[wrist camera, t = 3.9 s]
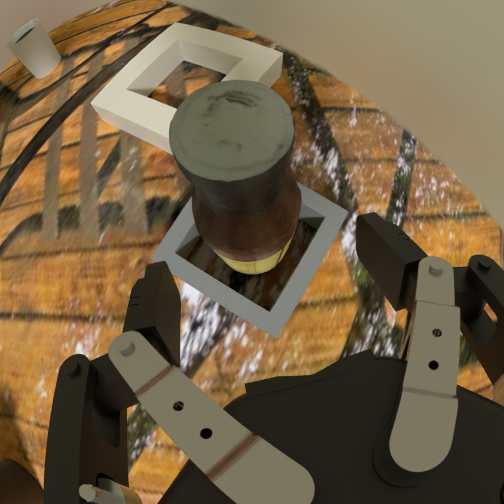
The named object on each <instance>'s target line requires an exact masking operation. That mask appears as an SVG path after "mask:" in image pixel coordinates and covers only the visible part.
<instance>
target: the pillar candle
mask: <svg viewBox="0 0 504 504" xmlns="http://www.w3.org/2000/svg"><path fill="white" fill-rule="evenodd" d="M0 504H44V492H43V490H42V489H41V487H40V485H39V484H38V483H37V482H36V480H35V479H34V478H33V477H32V476H31V475H30V474H29V473H28V471H27V470H26V469H25V468H24V467H22V466H21V465H20V464H18V463H16V462H15V461H12V460H9V459H7V460H4V461H2V462H0Z"/></svg>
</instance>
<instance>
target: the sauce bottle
mask: <svg viewBox="0 0 504 504" xmlns="http://www.w3.org/2000/svg"><path fill="white" fill-rule="evenodd" d="M294 140H295V120H294V118H293V115H292V112H291V109H290V107H289V106H288V104H287V103H286V101H285V100H284V99H283V98H282V97H281V96H280V95H279V94H278V93H277V92H276V91H274V90H273V89H271V88H269V87H267V86H265V85H263V84H261V83H257V82H255V81H248V80H228V81H222V82H218V83H213V84H208V85H207V86H205V87H203V88H200V89H197V90H196V91H194V92H193V93H192V94H190V95H189V96H188V97H187V98H186V99H185V100H184V101H183V102H182V103H181V104H180V105H179V107H178V109H177V111H176V112H175V114H174V117H173V119H172V120H171V122H170V128H169V142H170V148H171V151H172V153H173V155H174V158H175V160H176V162H177V164H178V166H179V168H180V170H181V171H182V173H183V174H184V175H185V177H186V178H187V179H188V180H189V181H190V182H191V183H193V184H194V185H195V187H194V190H193V194H192V213H193V217H194V221H195V225H196V228H197V231H198V233H199V235H200V236H201V237H202V238H203V239H204V240H205V242H206V243H207V244H208V246H209V247H210V248H211V249H212V250H213V251H214V252H216V253H217V254H218V255H219V256H220V257H221V258H222V259H223V260H224V261H225V262H226V263H227V264H228V265H229V266H230V267H231V268H233V269H234V270H235V271H238V272H241V273H245V274H253V275H255V274H260V273H264V272H266V271H269V270H271V269H272V268H274V267H275V266H276V265H277V264H278V263H279V262H280V261H281V260H282V258H283V256H284V255H285V253H286V251H287V249H288V246H289V244H290V242H291V240H292V237H293V235H294V233H295V230H296V227H297V224H298V220H299V215H300V211H301V204H302V198H301V190H300V188H299V187H298V184H297V180H296V178H295V176H294V174H293V173H292V170H291V167H290V163H289V159H290V156H291V154H292V151H293V145H294Z"/></svg>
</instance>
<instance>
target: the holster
mask: <svg viewBox="0 0 504 504" xmlns="http://www.w3.org/2000/svg"><path fill="white" fill-rule="evenodd" d="M297 184H298V187H299V188H300V190H301V198H302V204H301V211H300V215H299V219H300V220H302V221H303V222H305V223H307V224H308V225H310V226H312V227H313V228H315V229H316V231H315V233H314V234H313V236H312V238H311V240H310V241H309V243H308V245H307V247H306V248H305V250H304V252H303V254H302V255H301V257H300V259H299V260H298V262H297V264H296V266H295V267H294V269H293V271H292V272H291V274H290V276H289V278H288V279H287V281H286V283H285V284H284V286H283V288H282V289H281V291H280V293H279V294H278V296H277V298H276V299H275V301H274V303H273V304H272V306H271V308H270V309H269V311H267V310H265V309H264V308H262V307H260V306H259V305H257V304H255V303H254V302H252V301H250V300H249V299H247V298H245V297H244V296H242V295H240V294H239V293H237V292H236V291H234V290H232V289H231V288H229V287H228V286H226V285H224V284H223V283H221V282H219V281H218V280H216V279H215V278H213V277H212V276H210V275H208V274H207V273H205V272H204V271H202V270H200V269H199V268H197V267H196V266H194V265H193V264H191V263H189V262H188V261H186V259H187V258H188V256H189V254H190V253H191V251H192V250H193V248H194V247H195V245H196V243H197V242H198V240H199V239H200V237H201V236H200V235H199V233H198V231H197V228H196V225H195V221H194V217H193V213H192V197H191V198H190V200H189V201H188V202H187V204H186V205H185V207H184V208H183V210H182V211H181V213H180V214H179V216H178V217H177V219H176V220H175V222H174V223H173V225H172V226H171V228H170V229H169V231H168V232H167V234H166V236H165V237H164V239H163V240H162V242H161V243H160V245H159V246H158V248H157V250H156V251H155V253H154V254H153V256H152V258H151V259H152V260H153V261H155V262H160V261H166V263H167V264H168V267H169V269H170V272H171V273H172V274H174V275H175V276H177V277H178V278H180V279H181V280H183V281H184V282H186V283H188V284H189V285H191V286H192V287H194V288H195V289H197V290H198V291H200V292H201V293H203V294H204V295H206V296H208V297H209V298H211V299H212V300H214V301H215V302H217V303H219V304H220V305H222V306H223V307H225V308H227V309H228V310H230V311H231V312H233V313H235V314H236V315H238V316H240V317H241V318H243V319H244V320H246V321H248V322H249V323H251V324H253V325H254V326H256V327H258V328H259V329H261V330H263V331H264V332H266V333H268V334H270V335H271V336H273V337H275V338H277V337H278V335H279V334H280V332H281V330H282V329H283V327H284V325H285V324H286V322H287V320H288V319H289V317H290V315H291V314H292V312H293V310H294V309H295V307H296V305H297V304H298V302H299V300H300V299H301V297H302V295H303V293H304V292H305V290H306V288H307V287H308V285H309V283H310V281H311V280H312V278H313V276H314V274H315V273H316V271H317V269H318V267H319V265H320V264H321V262H322V260H323V258H324V256H325V255H326V253H327V251H328V249H329V247H330V246H331V244H332V242H333V240H334V238H335V236H336V234H337V233H338V231H339V229H340V227H341V225H342V223H343V221H344V219H345V217H346V215H347V214H348V211H346V210H345V209H343V208H341V207H340V206H338V205H336V204H335V203H333V202H331V201H330V200H328V199H326V198H325V197H323V196H321V195H320V194H318V193H316V192H314V191H313V190H311V189H309V188H307V187H306V186H304V185H302V184H300V183H299V182H297Z"/></svg>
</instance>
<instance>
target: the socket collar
mask: <svg viewBox="0 0 504 504" xmlns="http://www.w3.org/2000/svg"><path fill="white" fill-rule="evenodd" d="M184 60H185V61H188V62H191V63H194V64H197V65H200V66H203V67H206V68H209V69H212V70H215V71H218V72H221V73H224V74H226V77H225V78H224V79H223V80H222V81H228V80H248V81H255V82H257V83H261V84H263V85H265V86H267V87H269V88H271V87H272V86H273V84H274V83H275V82H276V81H277V80H278V79H279V77H280V76H281V71H282V60H283V53H281V52H279V51H276V50H273V49H270V48H268V47H265V46H262V45H259V44H256V43H253V42H250V41H247V40H244V39H240V38H237V37H234V36H230V35H227V34H223V33H220V32H216V31H212V30H208V29H204V28H200V27H195V26H191V25H186V24H181V23H176V22H175V23H174V24H173V25H171V26H170V27H169V28H168V29H166V30H165V31H164V32H163V33H162V34H160V35H159V36H158V37H157V38H156V39H154V40H153V41H152V42H151V43H150V44H149V45H147V46H146V47H145V48H144V49H143V50H142V51H141V52H140V53H139V54H137V55H136V56H135V57H134V58H133V59H132V60H131V61H130V62H129V63H128V64H127V65H126V66H125V67H124V68H123V69H122V70H121V71H120V72H119V73H118V74H117V75H116V76H115V77H114V78H113V79H112V80H111V81H110V82H109V83H108V84H107V85H106V86H105V87H104V88H103V90H102V91H101V92H100V93H99V94H98V95H97V96H96V97H95V98H94V100H93V101H92V102H91V105H92V106H93V107H94V109H95V110H96V111H97V113H98V114H99V115H100V117H101V118H102V119H103V121H105V122H107V123H109V124H111V125H113V126H115V127H117V128H120V129H122V130H124V131H126V132H128V133H130V134H132V135H134V136H136V137H138V138H140V139H142V140H144V141H146V142H148V143H150V144H152V145H154V146H156V147H158V148H160V149H162V150H164V151H166V152H168V153H170V154H172V155H173V153H172V151H171V148H170V142H169V128H170V122H171V120H172V119H173V117H174V114H175V112H176V111H177V109H176V108H173V107H171V106H168V105H166V104H163V103H161V102H158V101H156V100H153V99H151V98H148V96H149V95H150V94H151V93H152V92H153V91H154V89H155V88H156V87H157V86H158V85H159V84H160V83H161V82H162V81H163V80H164V79H165V78H166V77H167V76H168V75H169V74H170V73H171V72H172V71H173V70H174V69H175V68H176V67H177V66H178V65H179V64H180V63H181V62H182V61H184ZM222 81H221V82H222Z"/></svg>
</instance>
